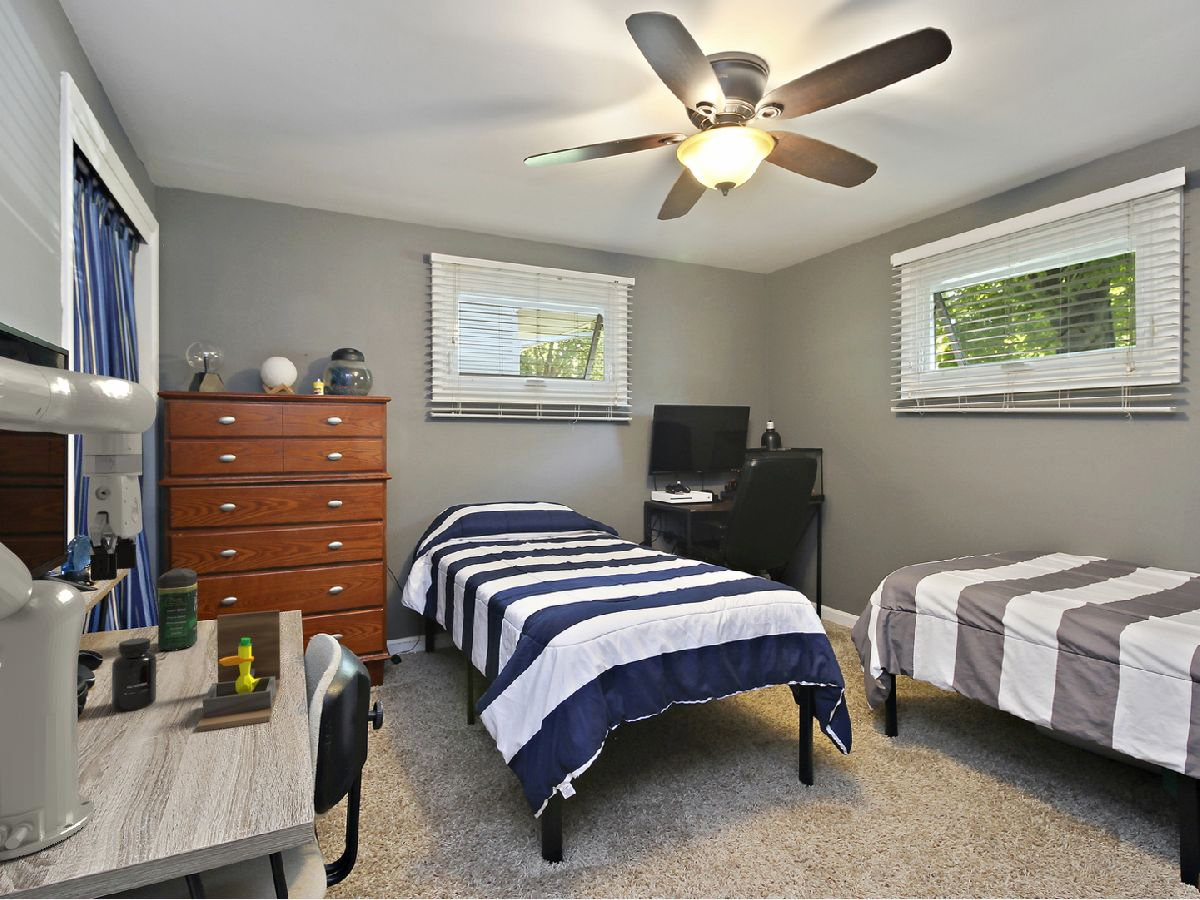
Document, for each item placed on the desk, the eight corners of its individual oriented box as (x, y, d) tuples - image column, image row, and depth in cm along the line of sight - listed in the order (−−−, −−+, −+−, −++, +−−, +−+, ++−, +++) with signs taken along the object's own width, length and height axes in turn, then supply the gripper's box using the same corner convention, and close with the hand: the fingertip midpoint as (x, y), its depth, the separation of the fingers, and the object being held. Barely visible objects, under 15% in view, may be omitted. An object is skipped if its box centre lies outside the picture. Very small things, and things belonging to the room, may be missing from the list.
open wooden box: (269, 721, 114) (268, 636, 114) (197, 731, 110) (196, 644, 110) (280, 682, 132) (279, 609, 132) (218, 690, 128) (218, 615, 128)
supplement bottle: (133, 713, 117) (132, 648, 117) (102, 710, 119) (101, 645, 119) (165, 699, 124) (165, 636, 124) (136, 696, 126) (135, 634, 125)
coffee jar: (194, 649, 155) (193, 571, 155) (155, 653, 151) (154, 574, 151) (200, 638, 164) (199, 565, 163) (163, 642, 160) (162, 567, 160)
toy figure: (217, 710, 116) (217, 643, 116) (221, 703, 119) (220, 638, 119) (260, 704, 119) (259, 639, 119) (262, 697, 122) (261, 634, 122)
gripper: (124, 468, 96) (125, 582, 96) (156, 464, 112) (157, 563, 112) (61, 469, 93) (63, 587, 93) (103, 465, 109) (105, 566, 109)
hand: (114, 574), depth 103 cm, fingers open, 9 cm apart
